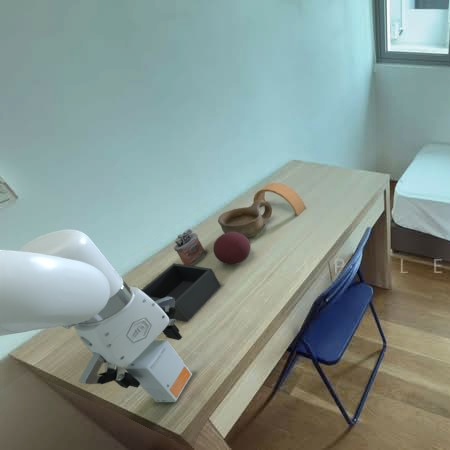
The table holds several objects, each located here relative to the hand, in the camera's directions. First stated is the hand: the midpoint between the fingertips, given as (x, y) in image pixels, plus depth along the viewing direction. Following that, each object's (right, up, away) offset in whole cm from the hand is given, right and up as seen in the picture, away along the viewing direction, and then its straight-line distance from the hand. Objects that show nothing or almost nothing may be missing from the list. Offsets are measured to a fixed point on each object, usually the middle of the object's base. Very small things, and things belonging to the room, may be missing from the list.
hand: (155, 359), depth 59 cm
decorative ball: (-4, +15, +38) cm, 41 cm away
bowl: (-6, +24, +52) cm, 57 cm away
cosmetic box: (0, -8, +5) cm, 9 cm away
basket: (-12, +5, +25) cm, 28 cm away
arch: (-1, +32, +63) cm, 71 cm away
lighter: (-18, +15, +39) cm, 45 cm away
